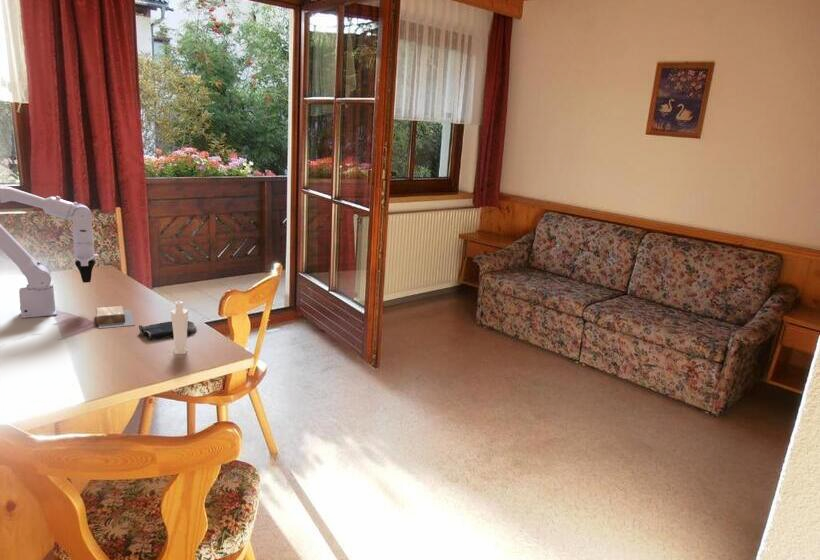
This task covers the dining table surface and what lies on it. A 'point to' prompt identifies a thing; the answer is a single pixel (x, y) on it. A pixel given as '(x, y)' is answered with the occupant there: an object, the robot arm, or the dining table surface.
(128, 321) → the mat
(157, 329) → the electronic device
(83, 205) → the robot arm
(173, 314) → the perfume bottle
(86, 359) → the dining table surface
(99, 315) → the walnut slab
